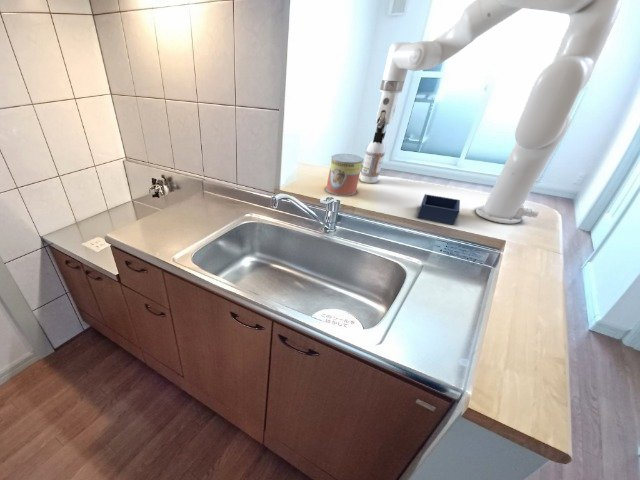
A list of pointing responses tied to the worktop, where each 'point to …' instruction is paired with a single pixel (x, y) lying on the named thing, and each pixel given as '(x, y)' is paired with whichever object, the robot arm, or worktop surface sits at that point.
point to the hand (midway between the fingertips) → (377, 142)
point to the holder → (439, 209)
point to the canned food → (344, 174)
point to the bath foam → (373, 162)
